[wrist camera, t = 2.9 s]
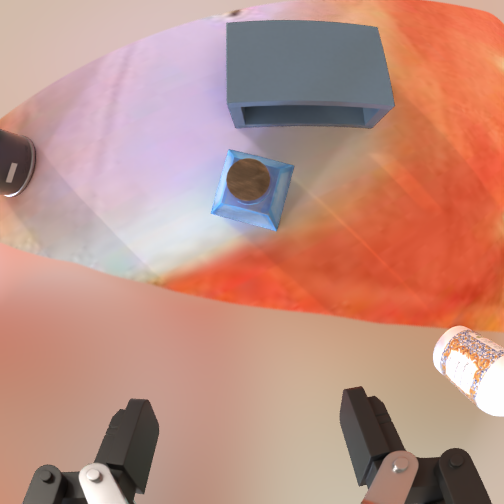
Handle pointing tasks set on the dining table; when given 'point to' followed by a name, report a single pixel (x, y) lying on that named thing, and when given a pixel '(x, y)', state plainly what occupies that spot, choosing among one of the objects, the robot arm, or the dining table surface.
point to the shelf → (306, 74)
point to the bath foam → (473, 367)
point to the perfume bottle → (252, 189)
